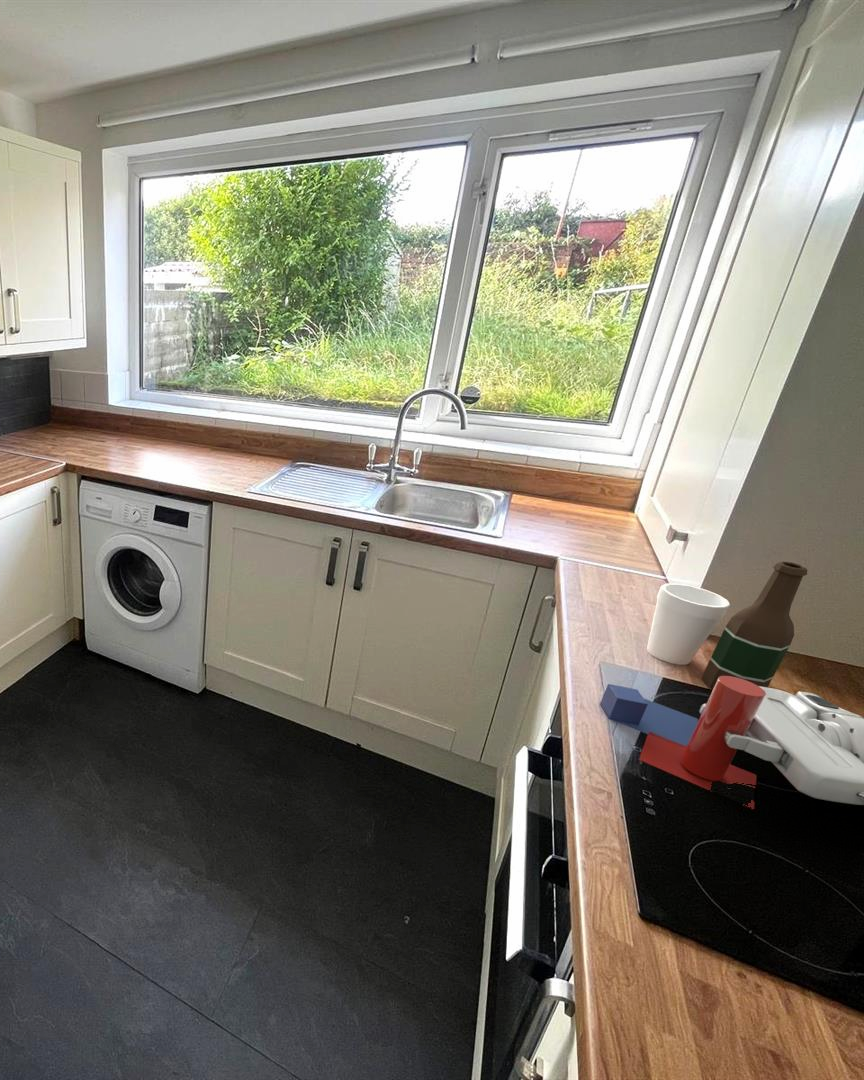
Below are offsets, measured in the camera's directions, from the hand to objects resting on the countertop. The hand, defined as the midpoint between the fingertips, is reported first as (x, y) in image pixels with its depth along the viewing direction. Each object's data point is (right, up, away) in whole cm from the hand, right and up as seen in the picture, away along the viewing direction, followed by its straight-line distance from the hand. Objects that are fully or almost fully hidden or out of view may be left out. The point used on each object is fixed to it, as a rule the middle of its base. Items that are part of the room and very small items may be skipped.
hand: (714, 723), depth 79 cm
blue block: (-2, -3, +14) cm, 14 cm away
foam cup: (+22, +3, +31) cm, 38 cm away
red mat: (+1, -8, +3) cm, 8 cm away
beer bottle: (+24, -1, +21) cm, 32 cm away
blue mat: (+3, -4, +13) cm, 14 cm away
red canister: (+1, -7, +2) cm, 8 cm away
